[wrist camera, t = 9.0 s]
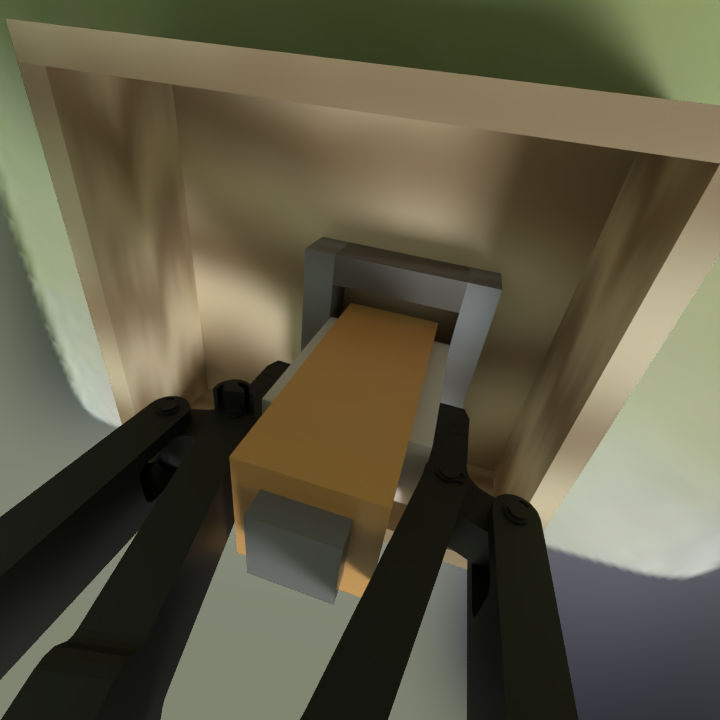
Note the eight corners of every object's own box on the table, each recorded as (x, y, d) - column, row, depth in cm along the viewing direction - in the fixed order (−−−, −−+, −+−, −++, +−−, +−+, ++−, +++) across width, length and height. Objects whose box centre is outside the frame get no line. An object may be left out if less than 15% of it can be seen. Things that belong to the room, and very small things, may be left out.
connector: (350, 302, 18) (209, 481, 9) (438, 322, 17) (383, 540, 8) (342, 374, 20) (221, 578, 11) (419, 395, 19) (360, 631, 10)
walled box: (154, 51, 16) (5, 18, 11) (682, 120, 13) (807, 116, 8) (199, 393, 26) (131, 456, 21) (505, 483, 22) (510, 584, 17)
